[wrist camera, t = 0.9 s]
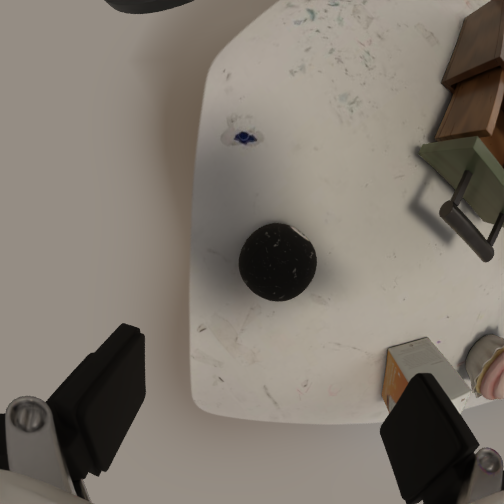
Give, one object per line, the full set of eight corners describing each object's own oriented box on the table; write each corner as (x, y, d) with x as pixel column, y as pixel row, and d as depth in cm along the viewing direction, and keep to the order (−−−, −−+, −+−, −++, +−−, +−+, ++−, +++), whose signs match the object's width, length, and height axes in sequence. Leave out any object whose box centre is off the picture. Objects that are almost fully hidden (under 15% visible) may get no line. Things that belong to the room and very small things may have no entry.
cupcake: (499, 310, 25) (543, 343, 16) (502, 351, 27) (536, 385, 17) (451, 352, 27) (490, 398, 17) (459, 388, 29) (489, 430, 19)
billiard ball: (323, 245, 25) (339, 265, 19) (282, 296, 26) (286, 327, 20) (269, 205, 24) (270, 213, 18) (229, 259, 25) (219, 282, 20)
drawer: (464, 258, 23) (514, 284, 15) (394, 195, 22) (446, 205, 14) (515, 132, 19) (561, 129, 11) (457, 63, 18) (502, 41, 10)
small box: (386, 346, 27) (425, 409, 17) (428, 335, 27) (473, 389, 16) (380, 396, 29) (406, 457, 19) (417, 385, 28) (450, 439, 18)
